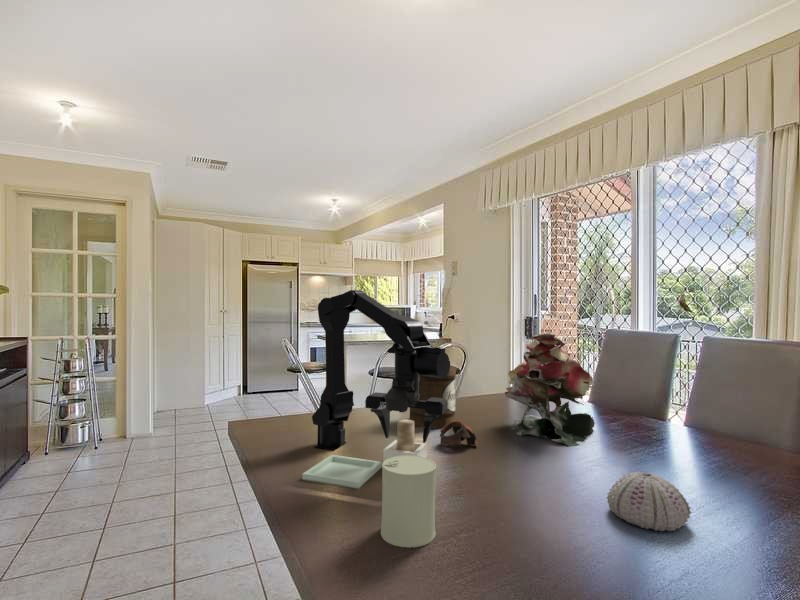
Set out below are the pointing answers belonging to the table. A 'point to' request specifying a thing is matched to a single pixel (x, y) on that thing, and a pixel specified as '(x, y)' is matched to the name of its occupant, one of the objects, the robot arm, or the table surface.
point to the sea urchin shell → (648, 502)
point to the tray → (343, 471)
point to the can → (408, 501)
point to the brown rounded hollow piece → (458, 434)
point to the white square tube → (392, 451)
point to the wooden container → (438, 390)
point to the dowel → (405, 435)
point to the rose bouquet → (550, 391)
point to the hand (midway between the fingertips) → (405, 440)
